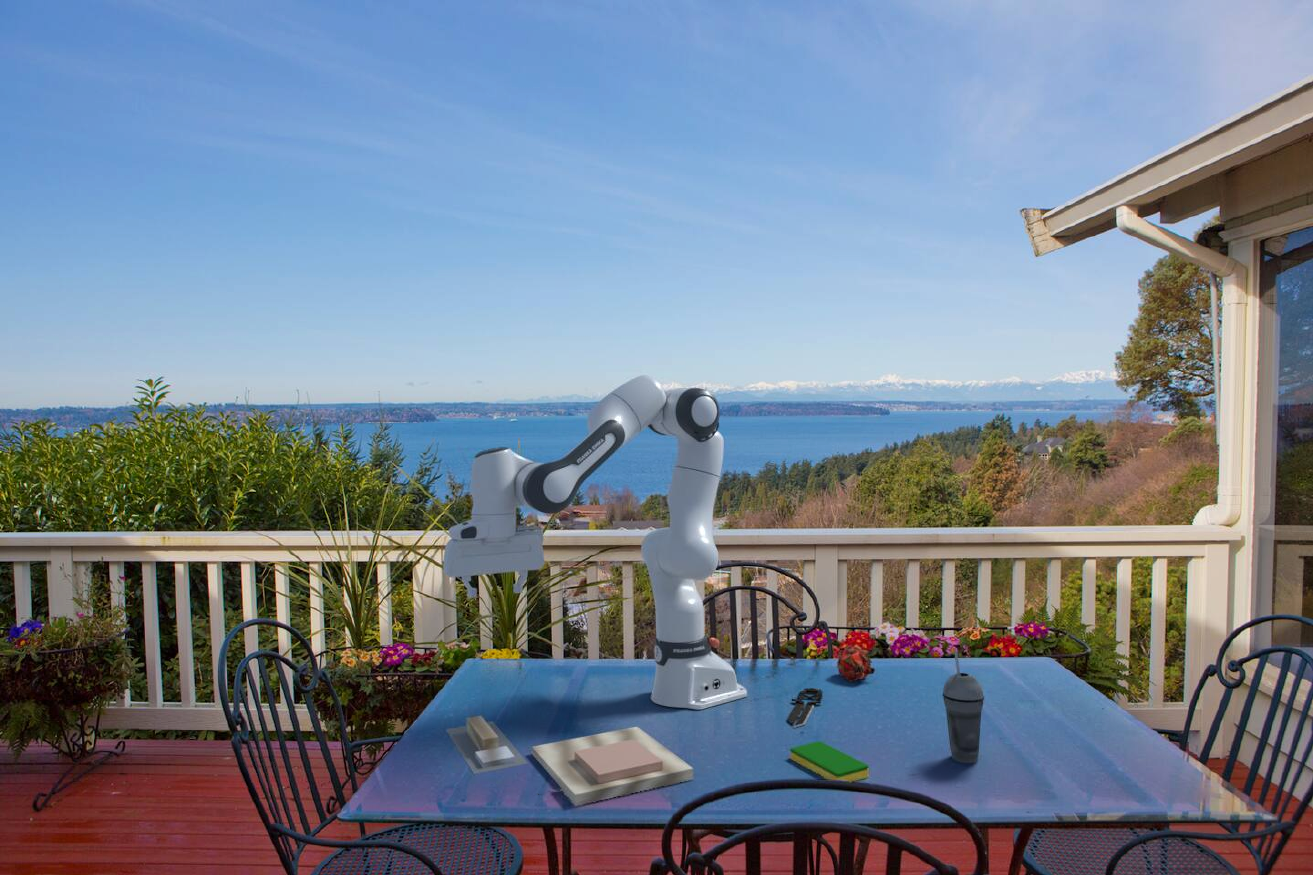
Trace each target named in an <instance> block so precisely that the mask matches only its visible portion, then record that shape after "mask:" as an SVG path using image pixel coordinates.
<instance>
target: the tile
mask: <svg viewBox="0 0 1313 875" xmlns="http://www.w3.org/2000/svg"><path fill="white" fill-rule="evenodd" d="M574 752H575V760H576V761H577V762H578V763H579V764H580V765H581V766H582V767H583V768H584V769H585V770H586V771H587V772H588V773H589V774H590V775H591V776H592V777H593V778H594V779H595V780H596V781H597V782H598V783H599V784H600V783H604V782H609V781H614V780H618V779H623V778H627V777H632V776H636V775H641V774H645V773H650V772H654V771H659V770H663V762H662V760H660V759H659V758H658V757H657V756H655V755H654V754H653V753H651V752H650V751H649V750H648V749H646V748H645V747H644V746H643V745H641V744H640V743H639V742H637V741H636V740H635V739H633V740H628V741H623V742H618V743H613V744H608V745H603V746H598V747H593V748H588V749H583V750H578V751H574Z"/></svg>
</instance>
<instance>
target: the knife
mask: <svg viewBox="0 0 1313 875" xmlns="http://www.w3.org/2000/svg"><path fill="white" fill-rule="evenodd" d="M809 695H810V696H809ZM797 698H798V699H796V698H791V704H794V703H795V705H794V707H793V708H792V709H791V711H790V714H789V715H788V717H787V719H786V720H787V721H788V722H789V723H790V724H792V725H793V727H794V729H796V728H799V727H801V726H805V725H806V723H807V721H808V719H809V717H810V715H811V714H812V711H813V710H814V708H815V707H816V706H819V707H820V706H822V705H821V703H822V698H823V690H822V689H820V688H819V689H818V688H814V687H809V688H808V687H806V688H803V690H800V691H799V693H798V695H797ZM803 698H805V700H808V701H807V702H806V704H805V701H804V700H803ZM809 700H810V701H809Z"/></svg>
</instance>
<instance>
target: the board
mask: <svg viewBox="0 0 1313 875" xmlns="http://www.w3.org/2000/svg"><path fill="white" fill-rule="evenodd" d="M633 739H635V740H636V741H637V742H639V743H640V744H641V745H643V746H644V747H645V748H646V749H648V750H649V751H650V752H651V753H653V754H654V755H655V756H657V757H658V758H659V759H660V760H662V762H663V770H659V771H654V772H650V773H645V774H641V775H636V776H632V777H627V778H623V779H618V780H614V781H609V782H604V783H600V784H599V783H598V782H597V781H596V780H595V779H594V778H593V777H592V776H591V775H590V774H589V773H588V772H587V771H586V770H585V769H584V768H583V767H582V766H581V765H580V764H579V763H578V762H577V761H576V760H575V752H574V751H578V750H583V749H588V748H593V747H598V746H603V745H608V744H613V743H618V742H623V741H628V740H633ZM531 755H532V756H533V757H534V758H535V760H536V761H537V762H538V763H539V764H540V765H541V767H543V768H544V769H545V770H546V772H547V773H548V774H549V776H550V777H551V778H552V779H553V780H554V781H555V782H556V784H558V786H559V788H560V789H561V790H562V791H563V792H564V793H563V792H562V791H561V790H560V789H559V790H560V791H561V792H562V793H563V794H564V796H565V797H566V796H567V797H569V799H570V800H571V801H572V802H573V803H574V804H575V805H581V804H584V803H589V802H593V801H598V800H602V799H605V798H610V797H616V798H618V797H617V796H621V797H623V796H622V795H625V796H628V795H627V794H629V795H632V794H631V793H634V794H636V793H635V792H638V793H641V792H640V791H642V792H645V791H644V790H647V791H650V790H649V789H651V790H653V789H652V788H655V789H658V788H657V787H660V788H662V787H661V786H664V787H667V786H672V785H676V784H681V783H680V782H682V783H686V782H690V781H693V780H694V768H693V767H692V766H690V764H688V763H686V761H684V760H683V759H681V758H680V757H679V756H677V754H675V753H673V752H672V751H671V750H669V749H668V748H666V747H665V746H664V745H662V744H661V743H660V742H659V741H657V740H656V739H654V738H653V737H652V736H651V735H649V734H648V733H646V732H645V731H644V730H642V729H641V728H639V726H634V727H628V728H623V729H616V730H612V731H607V732H602V733H598V734H591V735H587V736H581V737H577V738H576V737H575V738H570V739H565V740H560V741H555V742H548V743H544V744H539V745H534V746H531ZM689 780H690V781H689ZM685 781H686V782H685ZM567 797H566V798H567ZM569 799H568V800H569ZM570 800H569V801H570ZM571 801H570V802H571ZM572 802H571V803H572Z"/></svg>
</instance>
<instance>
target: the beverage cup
mask: <svg viewBox="0 0 1313 875" xmlns="http://www.w3.org/2000/svg"><path fill="white" fill-rule="evenodd" d="M953 651H954V660H955V666H956V673H954V674H952V675H951V676H949V677H948V678H947V680H946V681H945V683H944V685H943V691H942V698H943V702H944V706H945V712H946V722H947V730H948V739H949V748H950V753H951V759H952V760H953V761H955V762H957V763H962V764H975V763H977V762H978V760H979V752H980V739H981V738H980V737H981V736H980V735H981V722H982V721H981V720H982V710H983V705H984V701H985V695H984V691H983V687H982V685H981V684H980V682H979V681H978V680H977V679H976V678H975V677H974V676H973V675H972V674H969V673H966V672H961V670H960V663H959V656H958V655H959V654H958V649H957V648H954V649H953Z"/></svg>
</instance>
